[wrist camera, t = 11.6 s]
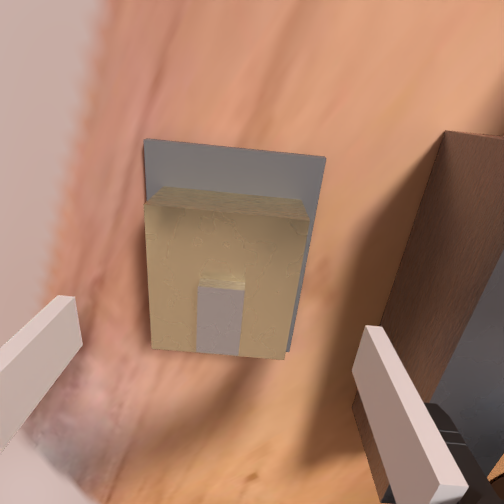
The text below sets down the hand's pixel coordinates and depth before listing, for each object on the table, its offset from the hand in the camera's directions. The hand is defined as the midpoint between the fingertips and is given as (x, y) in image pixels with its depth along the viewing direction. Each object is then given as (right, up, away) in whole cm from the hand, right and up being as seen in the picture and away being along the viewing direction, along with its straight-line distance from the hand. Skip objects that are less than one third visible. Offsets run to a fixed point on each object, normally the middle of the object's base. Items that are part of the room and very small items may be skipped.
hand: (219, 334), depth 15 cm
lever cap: (0, +3, +6) cm, 7 cm away
